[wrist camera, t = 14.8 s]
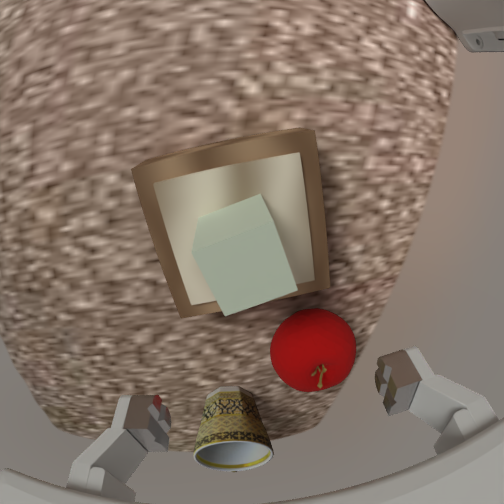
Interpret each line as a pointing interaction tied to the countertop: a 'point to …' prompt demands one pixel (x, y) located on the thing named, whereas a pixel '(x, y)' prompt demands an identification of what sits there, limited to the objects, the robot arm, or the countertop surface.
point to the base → (230, 192)
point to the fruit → (313, 350)
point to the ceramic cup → (232, 432)
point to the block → (242, 256)
